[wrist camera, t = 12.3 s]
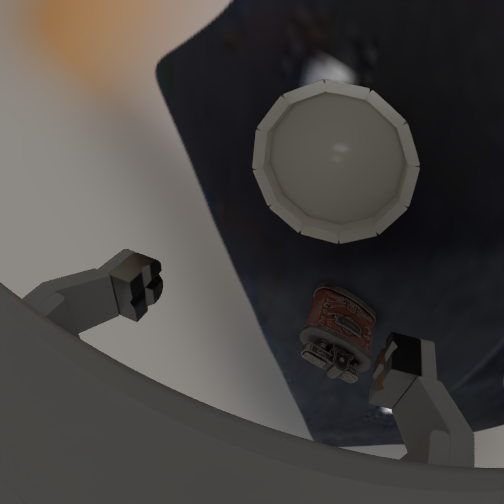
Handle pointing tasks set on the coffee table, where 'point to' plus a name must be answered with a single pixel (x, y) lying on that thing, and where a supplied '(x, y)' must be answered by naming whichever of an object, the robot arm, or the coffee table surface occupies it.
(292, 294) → the coffee table surface
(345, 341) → the lighter
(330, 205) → the ring dish
